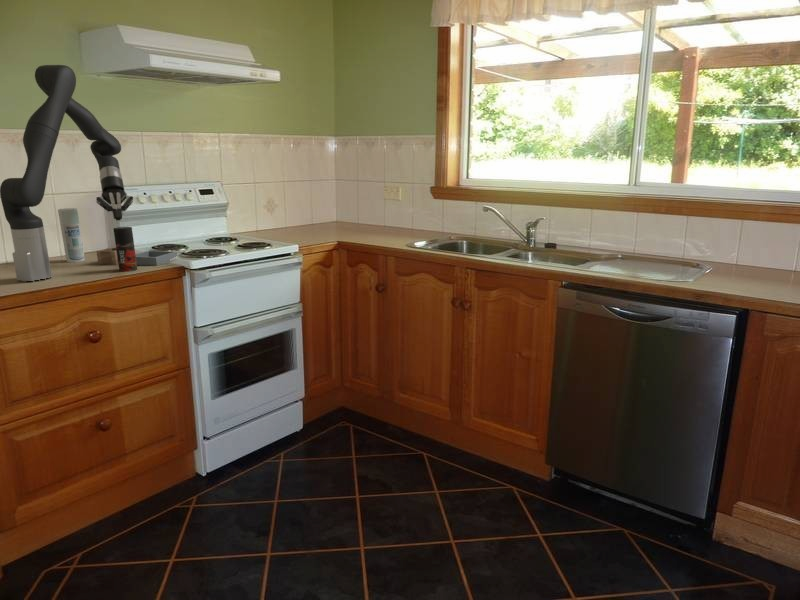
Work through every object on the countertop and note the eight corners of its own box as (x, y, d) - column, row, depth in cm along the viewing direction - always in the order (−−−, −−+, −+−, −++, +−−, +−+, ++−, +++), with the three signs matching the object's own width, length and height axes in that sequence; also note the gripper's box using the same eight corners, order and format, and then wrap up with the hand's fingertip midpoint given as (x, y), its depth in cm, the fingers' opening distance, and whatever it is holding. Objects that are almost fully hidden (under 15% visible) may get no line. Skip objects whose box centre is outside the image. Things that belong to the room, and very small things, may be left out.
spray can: (81, 258, 233) (73, 207, 228) (88, 260, 229) (80, 208, 223) (63, 261, 228) (55, 209, 223) (70, 263, 224) (61, 210, 219)
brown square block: (116, 264, 219) (114, 251, 218) (98, 264, 221) (96, 250, 220) (130, 260, 226) (129, 247, 225) (113, 260, 228) (111, 247, 227)
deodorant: (117, 272, 206) (111, 229, 202) (120, 268, 212) (114, 227, 208) (136, 270, 208) (130, 228, 204) (138, 267, 213) (133, 226, 209)
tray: (156, 265, 216) (155, 257, 216) (127, 264, 220) (126, 256, 219) (177, 259, 228) (176, 251, 227) (149, 258, 231) (148, 250, 231)
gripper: (91, 175, 214) (98, 213, 208) (131, 174, 221) (138, 212, 215) (92, 188, 220) (98, 226, 214) (130, 187, 227) (137, 224, 220)
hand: (118, 219), depth 214 cm, fingers closed
